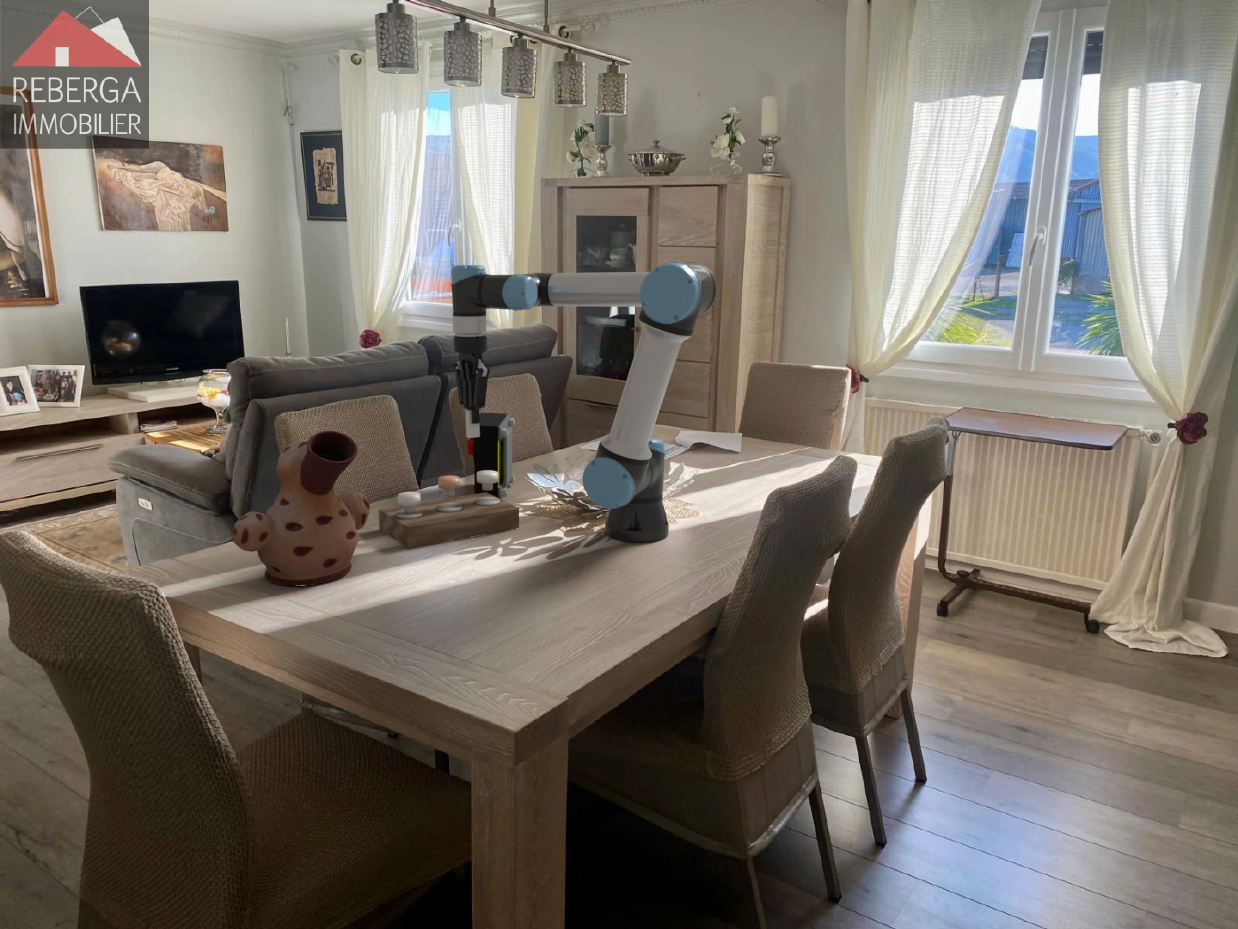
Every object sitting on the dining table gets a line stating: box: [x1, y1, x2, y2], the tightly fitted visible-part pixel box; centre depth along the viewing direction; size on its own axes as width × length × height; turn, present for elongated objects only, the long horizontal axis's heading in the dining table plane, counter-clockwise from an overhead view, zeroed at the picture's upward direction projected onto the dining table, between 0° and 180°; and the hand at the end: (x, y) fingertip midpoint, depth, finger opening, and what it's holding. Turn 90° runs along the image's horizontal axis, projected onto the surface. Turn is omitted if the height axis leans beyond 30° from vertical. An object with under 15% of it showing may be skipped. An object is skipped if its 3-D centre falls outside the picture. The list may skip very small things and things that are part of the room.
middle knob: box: [437, 475, 461, 497], centre depth 214 cm, size 5×5×4 cm
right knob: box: [477, 470, 498, 491], centre depth 220 cm, size 5×5×4 cm
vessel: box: [232, 430, 371, 587], centre depth 182 cm, size 29×22×30 cm
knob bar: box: [378, 492, 520, 550], centre depth 216 cm, size 16×28×6 cm, turn 127°
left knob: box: [397, 491, 421, 513], centre depth 209 cm, size 5×5×4 cm
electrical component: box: [466, 412, 516, 500], centre depth 246 cm, size 18×10×20 cm, turn 179°
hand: (473, 436), depth 214 cm, fingers closed
